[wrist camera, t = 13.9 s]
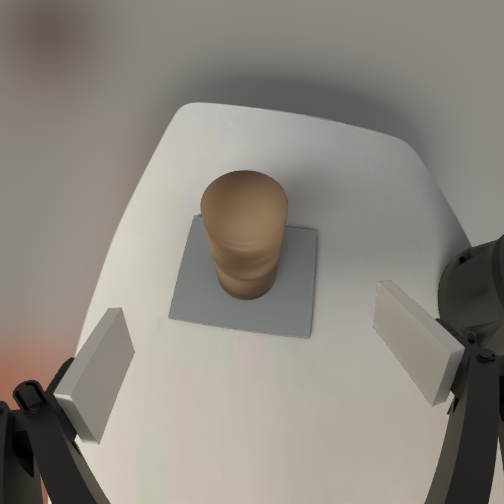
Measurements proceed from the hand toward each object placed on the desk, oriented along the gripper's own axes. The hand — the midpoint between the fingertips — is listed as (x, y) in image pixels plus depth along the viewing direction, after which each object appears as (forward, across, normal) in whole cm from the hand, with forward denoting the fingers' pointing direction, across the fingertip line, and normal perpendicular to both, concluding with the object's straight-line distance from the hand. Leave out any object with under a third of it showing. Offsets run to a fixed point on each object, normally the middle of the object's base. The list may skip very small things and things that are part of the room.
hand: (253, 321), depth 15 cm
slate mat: (+17, 0, -4) cm, 18 cm away
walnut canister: (+16, 0, -4) cm, 17 cm away
